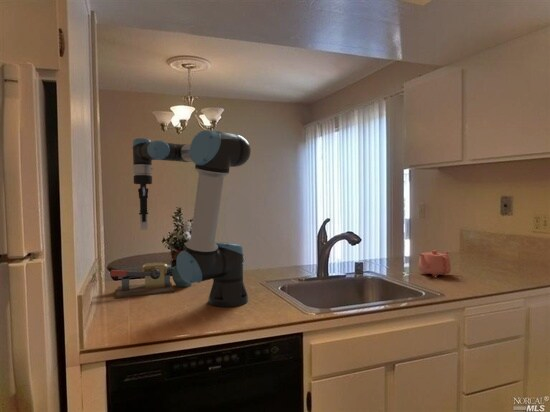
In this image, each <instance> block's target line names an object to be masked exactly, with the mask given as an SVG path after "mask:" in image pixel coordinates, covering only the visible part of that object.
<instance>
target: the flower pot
mask: <svg viewBox="0 0 550 412" xmlns="http://www.w3.org/2000/svg"><path fill="white" fill-rule="evenodd" d="M171 277H172V281H173V283H174V284H175V286H176V287H178V288H179V287H182V288H183V287H185V288H187V287H189V286H190V285H192V284H193V283H187V282H185V281H184V280H183V279H182V278H181V276H180V274H179V272H178V269H177V265H175V266H173V267H171Z"/></svg>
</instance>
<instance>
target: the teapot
mask: <svg viewBox="0 0 550 412" xmlns="http://www.w3.org/2000/svg"><path fill="white" fill-rule="evenodd" d="M449 253H450V250H446V251H444V253H441V252H438V250H436V249H433V250H431V251H429V252H427V251H426V252H421V253H418V255H419V260H418V270H419V271H420V272H422V273H424V274H428V275H429V274H430V275H432V276H439V275H440V276H441V275H446V276H447V274H450V273H451V267H452V266H451V261H450V258H449ZM432 276H431V277H432Z"/></svg>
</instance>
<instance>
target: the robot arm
mask: <svg viewBox="0 0 550 412" xmlns="http://www.w3.org/2000/svg"><path fill="white" fill-rule="evenodd" d="M251 150H252V149H251V145H250V143H249V142H248V140H247V139H246V138H245V137H243V136H242V135H240V134H237V133H236V134H235V133H229V132H223V131H218V130H214V129H213V130H207V129H206V130H205V129H204V130H200V131H199V132H198V133H196V135H195V136H194V137H193V138H192V140H191V143H185V144H183V143H181V144H180V143H173V142H172V143H170V142H165V141H164V140H153V141H151V139H150V138H146V137H145V138H141V137H140V138H135V139H133V140H132V160H133V161H132V164H133V165H132V171H133V173H132V174H133V184H134V185H139V188H138V189H137V193H138V198H139V213H138V215H140V217H139V218H140V219H139V220H140V223H139V224H140V230H143V231H144V230H148V215H149V212H148V197H149V196H148V194H149V187H148V188H147V185H152V184H153V176H152V174H153V171H152V170H154V167H152V165H153V161H170V162H179V163H180V162H181V163H191V162H192V163H194V164H195V166H194V168H195V170H196V171H197V173H198V179H197V187H196V193H195V202H194V209H193V210H194V211H193V217H192V225H191V232H190V233H191V234H190V239H189V240H187V241H186V242H185V245H184V250H182V251H181V252H179V253H178V254H177V257H176V261H175V262H176V264H175V265H176V266H177V269H178V272H179V274H180V276H181V278H182V279H183V280H184V281H185V282H187V283H192V284H195V283H201V282H205V281H209V280H212V285H211V288H210V292H209V296H208V303H209V304H210V305H211V306H214V307H219V308H220V307H221V308H229V307H230V308H231V307H238V306H242V305H245V304H246V303H248V300H249V299H248V297H249V296H248V292H247V289H246V286H245V282H244V254H243V251H244V250H243V246H242V245H241V244H239V243H234V242H219V241H216V234H217V229H218V222H219V221H218V220H219V213H220V207H221V205H220V204H221V200H222V194H223V193H222V192H223V186H224V178H225V177H226V176H227V175H228V174H230V167H231V168H232V167H240V166H243V165H245V164H246V163H247V162H248V160H250V156H251ZM215 241H216V242H215Z"/></svg>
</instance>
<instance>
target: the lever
mask: <svg viewBox="0 0 550 412" xmlns="http://www.w3.org/2000/svg"><path fill="white" fill-rule="evenodd" d="M118 276H151V278H152V279H158V278H159V277H160V271H159V270H157V269H153V270H152V271H151V272H144V271H127V270H118V269H110V277H118Z"/></svg>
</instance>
